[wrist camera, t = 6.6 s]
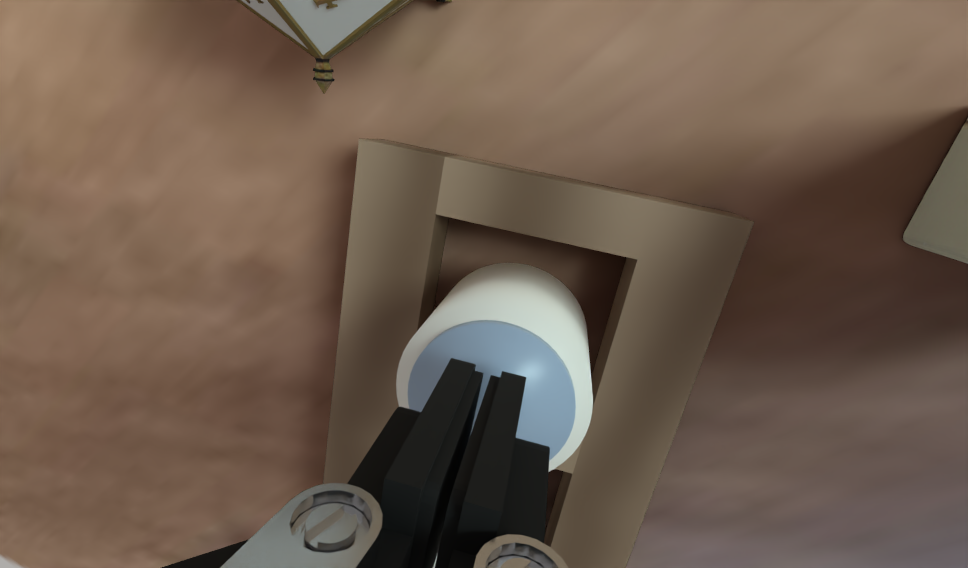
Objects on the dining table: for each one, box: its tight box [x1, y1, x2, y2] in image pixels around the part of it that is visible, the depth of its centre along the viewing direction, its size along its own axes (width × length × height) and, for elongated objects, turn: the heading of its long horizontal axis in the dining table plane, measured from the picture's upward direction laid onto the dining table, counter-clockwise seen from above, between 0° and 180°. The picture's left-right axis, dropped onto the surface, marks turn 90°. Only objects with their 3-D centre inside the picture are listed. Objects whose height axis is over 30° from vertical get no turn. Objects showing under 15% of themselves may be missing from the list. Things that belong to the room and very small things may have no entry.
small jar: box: [396, 263, 593, 471], centre depth 13 cm, size 5×5×4 cm
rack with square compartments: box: [323, 139, 754, 568], centre depth 19 cm, size 12×26×2 cm, turn 169°
